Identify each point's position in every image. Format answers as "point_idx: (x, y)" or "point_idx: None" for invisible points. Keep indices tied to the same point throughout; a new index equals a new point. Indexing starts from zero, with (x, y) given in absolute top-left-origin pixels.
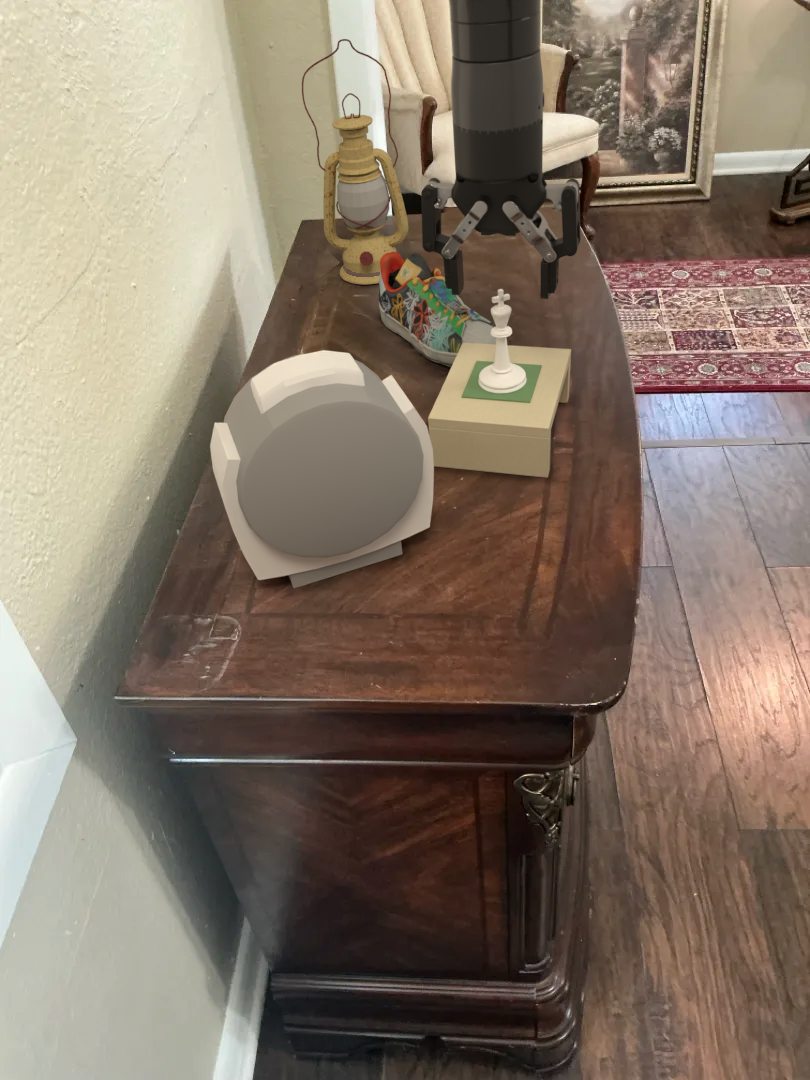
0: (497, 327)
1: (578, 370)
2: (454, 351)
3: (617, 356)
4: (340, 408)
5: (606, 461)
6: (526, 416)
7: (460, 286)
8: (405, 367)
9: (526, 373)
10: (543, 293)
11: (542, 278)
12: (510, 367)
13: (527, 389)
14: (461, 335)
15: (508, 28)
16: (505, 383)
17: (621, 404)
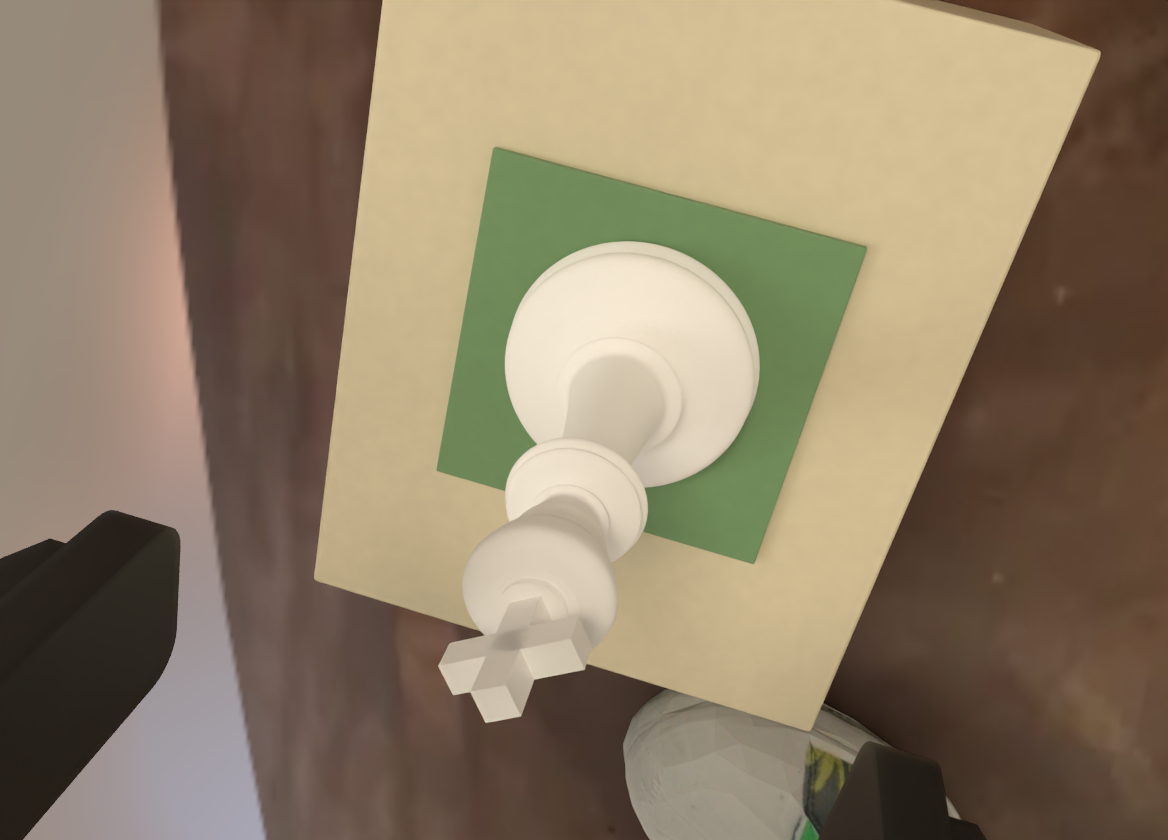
0: (592, 509)
1: (369, 615)
2: (840, 763)
3: (240, 667)
4: None
5: (254, 4)
6: (516, 12)
7: (849, 826)
8: (1049, 768)
9: (509, 412)
10: (119, 540)
11: (34, 624)
12: (571, 375)
13: (505, 266)
14: (804, 822)
15: None
16: (611, 278)
17: (214, 385)
